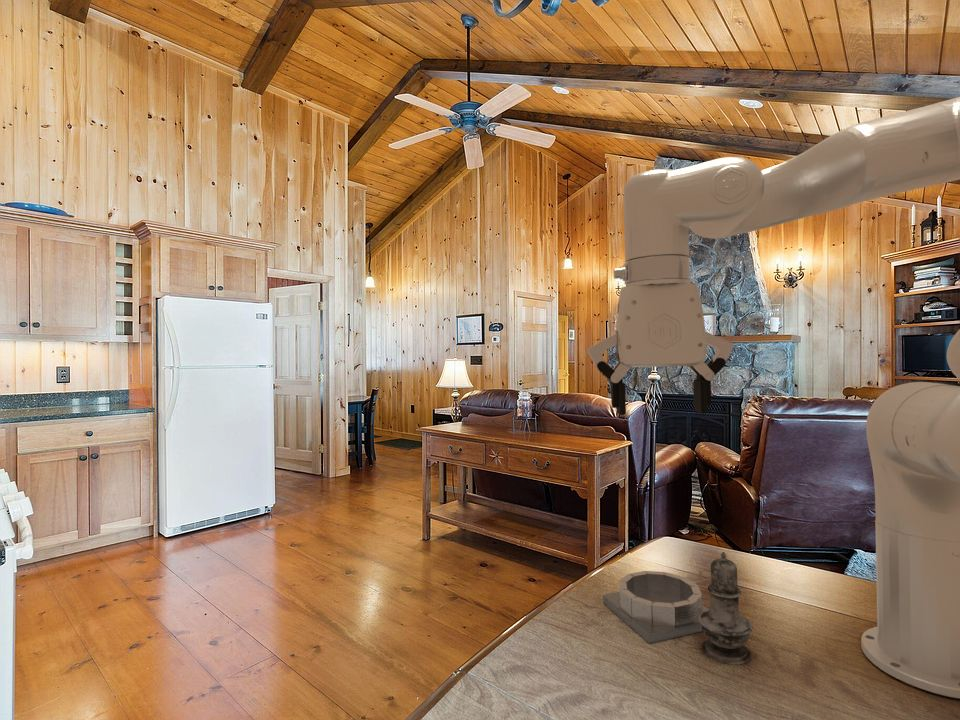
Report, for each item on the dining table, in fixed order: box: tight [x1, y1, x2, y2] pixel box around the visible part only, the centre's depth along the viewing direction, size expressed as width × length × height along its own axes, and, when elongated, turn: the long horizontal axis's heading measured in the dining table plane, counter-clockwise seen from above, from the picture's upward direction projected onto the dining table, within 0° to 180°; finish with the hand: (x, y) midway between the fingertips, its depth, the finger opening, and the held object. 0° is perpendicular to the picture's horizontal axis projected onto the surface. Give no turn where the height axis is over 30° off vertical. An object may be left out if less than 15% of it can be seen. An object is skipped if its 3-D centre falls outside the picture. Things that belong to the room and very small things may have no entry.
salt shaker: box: [699, 551, 754, 666], centre depth 63 cm, size 6×6×12 cm
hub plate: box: [602, 570, 710, 644], centre depth 72 cm, size 11×11×4 cm
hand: (660, 413), depth 65 cm, fingers open, 9 cm apart
